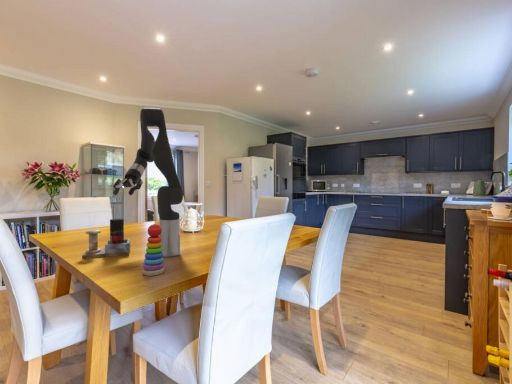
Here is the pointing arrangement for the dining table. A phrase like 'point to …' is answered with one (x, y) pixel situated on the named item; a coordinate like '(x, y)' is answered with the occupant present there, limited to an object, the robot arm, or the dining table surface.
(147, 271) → the stacking toy
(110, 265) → the dining table surface
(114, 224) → the deodorant
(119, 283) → the dining table surface
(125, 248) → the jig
